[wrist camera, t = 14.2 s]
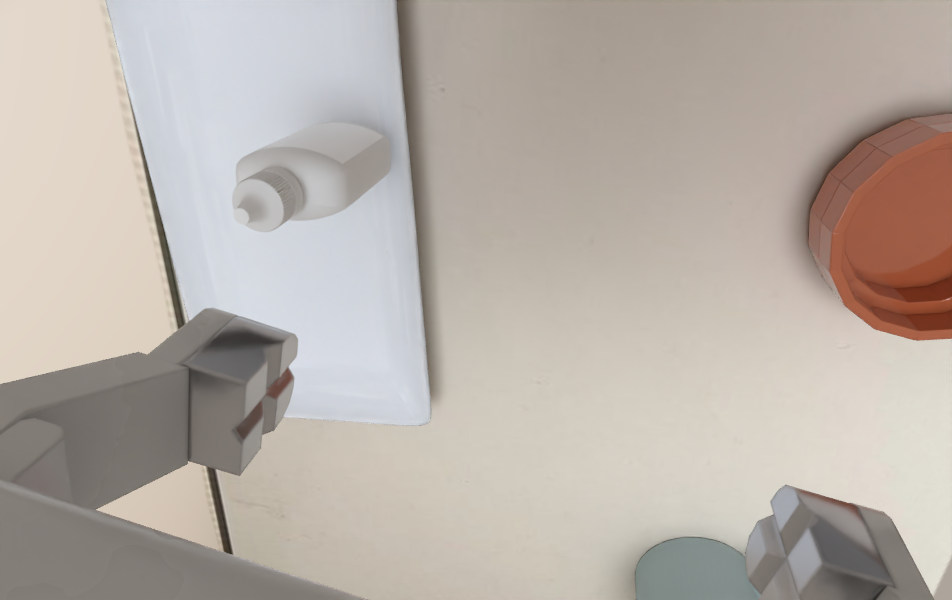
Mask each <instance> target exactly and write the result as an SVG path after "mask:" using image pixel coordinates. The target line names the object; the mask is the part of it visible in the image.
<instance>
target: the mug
mask: <svg viewBox="0 0 952 600" xmlns="http://www.w3.org/2000/svg"><path fill="white" fill-rule="evenodd" d="M635 585H636V600H758V599H759V597H760V596H761V595H760V594H759V592H758V591H757V590H756V589H755V587H754V586H753V585H752V584H751V583H750V581H749V580H748V575H747V571H746V562H745V557H744V556H743V555H742V554H741V553H739V552H738V551H737V550H735V549H733V548H732V547H730V546H728V545H726V544H723V543H721V542H718V541H714V540H710V539H705V538H695V537H687V538H678V539H673V540H669V541H666V542H663V543H661V544H659V545H657V546H655V547H653V548H652V549H650V550H649V551H648V552H647V553H646V554H645V555H644V556H643V557H642V558H641V559H640V561H639V563H638V565H637V568H636V572H635Z"/></svg>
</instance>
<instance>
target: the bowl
mask: <svg viewBox="0 0 952 600" xmlns="http://www.w3.org/2000/svg"><path fill="white" fill-rule="evenodd" d="M809 249H810V251H811V253H812V255H813V258H814V260H815V262H816V264H817V266H818V268H819V271H820V273H821V275H822V277H823V278H824V280H825V281H826V282H827V283H828V285H829V286H830V287H831V289H832V290H833V291H834V292H835V294H836V295H837V296H838V298H839V299H840V300H841V301H842V303H843V304H844V305H845V306H846V307H847V308H848V309H849V310H851V311H852V312H853V313H854V314H856V315H857V316H858V317H860V318H861V319H862V320H863V321H865V322H866V323H867V324H868V325H870V326H871V327H872V328H874V329H876V330H879V331H883V332H887V333H890V334H894V335H897V336H901V337H905V338H908V339H912V340H934V339H952V113H949V114H941V115H933V116H925V117H917V118H909V119H906V120H904V121H902V122H900V123H898V124H896V125H893V126H891V127H889V128H887V129H885V130H883V131H881V132H879V133H877V134H875V135H873V136H871V137H868V138H866V139H864V140H863V141H861V142H860V143H859V144H858V145H857V146H856V147H855V148H854V149H853V150H852V151H851V152H850V153H849V154H848V155H847V156H846V157H845V158H844V159H843V160H841V161H840V162H839V163H838V164H837V165H836V166H835V167H834V168H833V169H832V170H831V171H830V172H829V173H828V175H827V177H826V179H825V181H824V183H823V185H822V187H821V189H820V191H819V193H818V195H817V197H816V199H815V201H814V203H813V205H812V207H811V210H810V225H809Z"/></svg>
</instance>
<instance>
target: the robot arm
mask: <svg viewBox="0 0 952 600" xmlns="http://www.w3.org/2000/svg"><path fill="white" fill-rule="evenodd" d="M297 349H298V338H297V337H296V335H295V334H294V333H291V332H288V331H285V330H281V329H278V328H275V327H272V326H269V325H266V324H263V323H260V322H257V321H254V320H251V319H248V318H245V317H242V316H238V315H236V314H232V313H229V312H226V311H223V310H219V309H216V308H205V309H204V310H202V311H201V312H200V313H199V314H197V315H196V316H195V317H194V318H192V319H191V320H190V321H189V322H187V323H186V324H185V325H184V326H182V327H181V328H180V329H179V330H177V331H176V332H175V333H174V334H172V335H171V336H170V337H169V338H167V339H166V340H165V341H164V342H163V343H161V344H160V345H159V346H158V347H156V348H155V349H154V350H153V351H152V352H150V353H149V354H148V355H146V354H143V353H140V352H137V353H132V354H128V355H124V356H119V357H116V358H111V359H106V360H102V361H98V362H94V363H89V364H85V365H81V366H77V367H72V368H68V369H64V370H59V371H55V372H51V373H46V374H42V375H38V376H34V377H29V378H25V379H21V380H16V381H12V382H8V383H3V384H0V600H368V599H365V598H361V597H358V596H355V595H352V594H349V593H346V592H343V591H340V590H337V589H334V588H331V587H328V586H325V585H322V584H319V583H316V582H313V581H310V580H307V579H304V578H301V577H298V576H295V575H292V574H289V573H286V572H282V571H279V570H276V569H273V568H270V567H267V566H264V565H261V564H258V563H255V562H252V561H249V560H246V559H243V558H240V557H237V556H234V555H231V554H228V553H225V552H222V551H219V550H216V549H213V548H210V547H206V546H203V545H200V544H197V543H194V542H191V541H188V540H185V539H182V538H179V537H176V536H173V535H170V534H167V533H164V532H161V531H158V530H155V529H152V528H149V527H146V526H143V525H140V524H137V523H133V522H131V521H127V520H124V519H121V518H118V517H115V516H112V515H109V514H106V513H103V512H100V511H97V510H96V509H98V508H100V507H102V506H104V505H106V504H108V503H110V502H112V501H114V500H116V499H118V498H120V497H122V496H124V495H126V494H128V493H130V492H132V491H134V490H136V489H138V488H140V487H142V486H144V485H146V484H148V483H150V482H152V481H154V480H156V479H158V478H160V477H162V476H164V475H166V474H168V473H170V472H172V471H174V470H176V469H179V468H181V467H182V466H185V465H187V464H188V461H190V462H193V463H197V464H200V465H204V466H207V467H211V468H214V469H218V470H221V471H224V472H228V473H231V474H235V475H238V476H240V475H241V474H242V472H243V471H244V470H245V468H246V467H247V466H248V464H249V463H250V462H251V460H252V459H253V458H254V456H255V455H256V454H257V453H258V451H259V450H260V449H261V441H262V435H263V434H266V433H268V432H271V431H274V430H275V428H276V427H277V425H278V424H279V423H280V421H281V420H282V418H283V416H284V414H285V412H286V410H287V407H288V405H289V403H290V400H291V396H292V392H293V387H294V376H293V374H292V372H291V370H290V369H289V365H290V364H291V363H292V362H293V360H294V359H295V358H296V357H297ZM771 506H772V510H773V513H774V514H773V515H771V516H769V517H767V518H764V519H762V520H760V521H758V522H757V524H756V525H755V527H754V529H753V531H752V532H751V534H750V536H749V540H748V544H747V548H746V552H745V562H746V571H747V575H748V580H749V581H750V583H751V584H752V585H753V586H754V587H755V589H756V590H757V591H758V592H759V594H760V595H761V596H760V597H759V599H758V600H934V598H933V596H932V594H931V593H930V591H929V589H928V587H927V585H926V583H925V581H924V579H923V577H922V576H921V574H920V572H919V570H918V568H917V566H916V564H915V562H914V560H913V558H912V557H911V555H910V553H909V551H908V549H907V547H906V545H905V543H904V541H903V540H902V538H901V536H900V534H899V532H898V530H897V528H896V526H895V524H894V523H893V521H892V519H891V518H890V517H889V516H888V515H886V514H885V513H884V512H882V511H878V510H875V509H871V508H868V507H864V506H860V505H857V504H853V503H846V502H843V501H839V500H836V499H833V498H829V497H826V496H822V495H819V494H816V493H812V492H809V491H806V490H802V489H799V488H796V487H792V486H789V485H785V486H783V487H782V488H780V489H779V490H778V491H777V492H776V494H775V495H774V497H773V499H772V500H771Z"/></svg>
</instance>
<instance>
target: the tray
mask: <svg viewBox="0 0 952 600" xmlns="http://www.w3.org/2000/svg"><path fill="white" fill-rule="evenodd" d="M106 5H107V9H108V13H109V17H110V20H111V24H112V28H113V33H114V37H115V41H116V45H117V49H118V53H119V57H120V61H121V65H122V69H123V73H124V77H125V80H126V84H127V88H128V92H129V96H130V100H131V104H132V107H133V111H134V115H135V119H136V123H137V126H138V130H139V134H140V138H141V142H142V146H143V149H144V153H145V157H146V161H147V165H148V169H149V172H150V176H151V180H152V184H153V188H154V192H155V196H156V199H157V203H158V207H159V211H160V215H161V219H162V222H163V226H164V230H165V234H166V237H167V241H168V245H169V248H170V252H171V256H172V260H173V263H174V267H175V271H176V275H177V279H178V283H179V286H180V290H181V294H182V298H183V301H184V305H185V309H186V313H187V317H188V320H189V321H190V320H191V319H192V318H194V317H195V316H196V315H197V314H199V313H200V312H201V311H202V310H204V309H205V308H216V309H219V310H223V311H226V312H229V313H232V314H236V315H238V316H242V317H245V318H248V319H251V320H254V321H257V322H260V323H263V324H266V325H269V326H272V327H275V328H278V329H281V330H285V331H288V332H291V333H294V334H295V335H296V337H297V338H298V349H297V357H296V358H295V359H294V360H293V362H292V363H291V364H290V365H289V369H290V370H291V372H292V374H293V376H294V387H293V392H292V396H291V400H290V403H289V405H288V407H287V410H286V412H285V414H284V416H283V418H298V419H313V420H327V421H341V422H357V423H371V424H385V425H400V426H422V425H426V424H428V423H429V422H430V419H431V397H430V385H429V374H428V362H427V351H426V340H425V328H424V317H423V305H422V293H421V281H420V269H419V257H418V245H417V234H416V222H415V210H414V199H413V187H412V177H411V166H410V155H409V144H408V134H407V123H406V112H405V101H404V91H403V80H402V67H401V55H400V42H399V28H398V12H397V0H106ZM333 121H343V122H351V123H357V124H361V125H364V126H367V127H370V128H372V129H375V130H377V131H379V132H381V133H382V134H384V135H385V136H386V137H387V138H388V139H389V142H390V151H391V169H390V172H389V173H388V174H387V175H386V176H385V177H384V178H383V179H381V180H380V181H379V182H378V183H377V184H376V185H374V186H373V187H372V188H371V189H370V190H369V191H367V192H366V193H365V194H364V195H363V196H361V197H360V198H359V199H358V200H357V201H355V202H354V203H353V204H352V205H350V206H349V207H348V208H346V209H345V210H343V211H341V212H339V213H336V214H334V215H331V216H327V217H324V218H320V219H314V220H306V221H292V220H288V221H287V222H285V223H284V224H282V225H281V226H280V227H278V228H277V229H275V230H273V231H271V232H259V231H254V230H253V229H250V228H248V227H247V226H246V225H244V224H239V223H238V222H236V220H235V219H234V217H233V212H234V208H233V205H232V204H233V203H232V196H233V191H234V188H236V186H237V182H236V165H237V163H238V162H239V160H240V159H241V158H243V157H244V156H246V155H248V154H250V153H252V152H254V151H256V150H258V149H260V148H262V147H264V146H266V145H268V144H271V143H273V142H275V141H277V140H279V139H281V138H284V137H286V136H288V135H290V134H292V133H294V132H297V131H299V130H301V129H303V128H306V127H308V126H311V125H315V124H319V123H324V122H333Z"/></svg>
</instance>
